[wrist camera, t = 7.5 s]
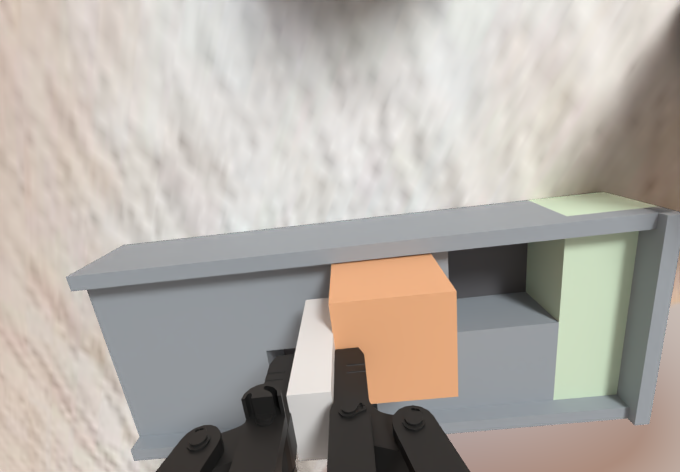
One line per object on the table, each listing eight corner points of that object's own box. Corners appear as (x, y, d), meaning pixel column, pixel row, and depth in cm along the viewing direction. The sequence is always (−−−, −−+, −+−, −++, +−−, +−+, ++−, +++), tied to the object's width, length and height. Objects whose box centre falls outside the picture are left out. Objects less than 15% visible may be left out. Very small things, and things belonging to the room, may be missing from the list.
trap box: (171, 400, 27) (129, 468, 21) (123, 245, 23) (58, 281, 18) (585, 361, 25) (649, 424, 20) (603, 191, 22) (685, 213, 17)
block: (342, 340, 20) (342, 406, 16) (331, 258, 19) (328, 303, 14) (430, 332, 20) (458, 396, 15) (427, 248, 19) (456, 291, 14)
